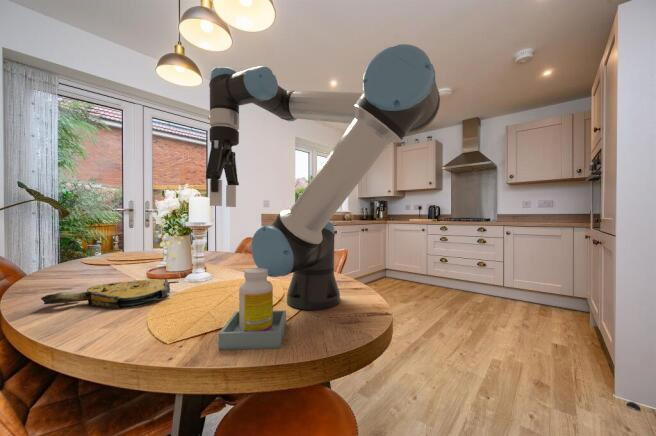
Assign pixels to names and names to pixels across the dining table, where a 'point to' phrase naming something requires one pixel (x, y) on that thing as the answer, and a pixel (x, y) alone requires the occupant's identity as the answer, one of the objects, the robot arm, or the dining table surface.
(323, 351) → the dining table surface
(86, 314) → the dining table surface
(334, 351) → the dining table surface
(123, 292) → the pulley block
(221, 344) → the tray
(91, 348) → the dining table surface
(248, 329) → the supplement bottle
